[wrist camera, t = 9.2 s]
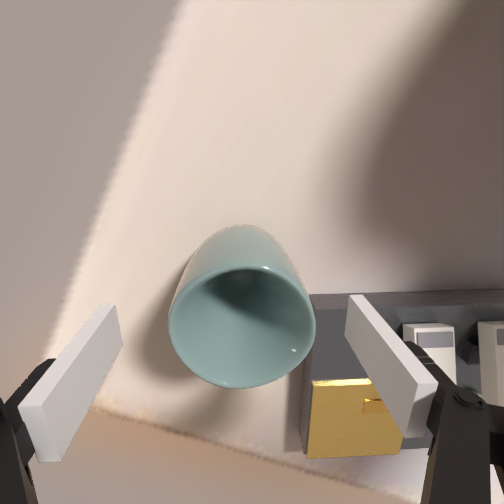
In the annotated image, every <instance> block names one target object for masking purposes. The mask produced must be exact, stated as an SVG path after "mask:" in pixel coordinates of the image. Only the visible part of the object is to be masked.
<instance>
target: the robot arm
mask: <svg viewBox="0 0 504 504" xmlns="http://www.w3.org/2000/svg"><path fill="white" fill-rule="evenodd" d="M344 336H345V337H346V339H347V341H348V342H349V344H350V346H351V348H352V349H353V351H354V353H355V354H356V356H357V358H358V360H359V361H360V363H361V365H362V366H363V368H364V370H365V371H366V373H367V375H368V377H369V378H370V380H371V382H372V383H373V385H374V387H375V389H376V390H377V392H378V394H379V395H380V397H381V399H382V400H383V402H384V404H385V406H386V407H387V409H388V411H389V412H390V414H391V416H392V418H393V419H394V421H395V423H396V424H397V426H398V428H399V430H400V431H401V433H402V435H403V436H404V438H418V437H424V433H425V429H426V426H427V427H428V429H429V430H430V431H431V433H432V434H433V437H432V441H431V444H430V447H429V451H428V454H427V455H428V456H429V458H428V463H427V469H426V475H425V480H424V486H423V492H422V498H421V503H420V504H491V491H490V464H493V465H494V467H495V470H496V473H497V476H498V479H499V482H500V485H501V488H502V491H503V494H504V407H502V406H497V405H492V404H487V403H486V402H485V401H484V400H483V399H482V398H481V397H480V396H478V395H477V394H476V393H474V392H472V391H470V390H468V389H464V388H461V387H458V386H457V385H456V384H455V383H454V382H453V381H452V380H451V379H450V378H449V377H448V376H447V375H446V374H445V372H444V371H443V370H442V369H441V368H440V367H439V366H438V365H437V364H435V362H434V361H433V360H432V358H431V357H429V355H428V354H427V353H426V352H425V351H424V350H423V349H422V348H421V347H420V346H418V345H417V344H415V343H413V342H412V341H402V340H401V339H400V338H399V337H398V335H397V334H396V333H395V332H394V331H393V330H392V328H391V327H390V326H389V325H388V324H387V323H386V321H385V320H384V319H383V318H382V317H381V316H380V315H379V313H378V312H377V311H376V310H375V309H374V308H373V306H372V305H371V304H370V303H369V302H368V301H367V299H366V298H365V297H364V296H363V295H349V301H348V309H347V317H346V325H345V333H344ZM122 346H123V342H122V337H121V332H120V327H119V322H118V317H117V311H116V306H115V304H101V305H100V306H99V307H98V308H97V309H96V311H95V312H94V313H93V314H92V316H91V317H90V318H89V319H88V321H87V322H86V323H85V324H84V325H83V327H82V328H81V329H80V330H79V332H78V333H77V334H76V335H75V337H74V338H73V339H72V340H71V341H70V343H69V344H68V345H67V346H66V348H65V349H64V350H63V351H62V353H61V354H60V355H59V356H58V357H57V358H56V359H47V360H46V361H45V362H43V363H42V364H40V365H39V366H37V367H36V368H35V369H34V370H33V372H32V373H31V374H30V375H29V376H28V379H26V380H25V381H24V382H23V383H22V384H21V387H19V388H18V389H17V390H16V391H15V392H14V393H13V395H12V396H11V397H10V398H9V399H8V400H7V401H6V403H5V404H4V403H3V401H2V399H1V398H0V504H38V501H37V496H36V492H35V488H34V484H33V480H32V476H31V472H30V468H29V466H28V462H29V460H30V459H31V457H32V456H33V454H34V453H35V454H36V457H37V459H38V462H39V463H49V462H61V460H62V458H63V456H64V454H65V453H66V450H67V449H68V447H69V445H70V443H71V441H72V440H73V438H74V436H75V433H76V432H77V430H78V428H79V426H80V424H81V423H82V421H83V419H84V417H85V415H86V413H87V411H88V410H89V408H90V406H91V404H92V402H93V400H94V399H95V397H96V395H97V393H98V391H99V389H100V387H101V385H102V384H103V382H104V380H105V378H106V376H107V374H108V372H109V371H110V369H111V367H112V365H113V363H114V361H115V359H116V358H117V356H118V354H119V352H120V350H121V348H122Z"/></svg>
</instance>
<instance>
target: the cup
mask: <svg viewBox="0 0 504 504" xmlns="http://www.w3.org/2000/svg"><path fill="white" fill-rule="evenodd" d="M168 333H169V337H170V342H171V344H172V346H173V348H174V350H175V352H176V354H177V355H178V356H179V358H180V359H181V361H182V362H183V363H184V364H185V365H186V366H187V367H188V368H189V369H190V370H191V371H192V372H193V373H194V374H196V375H197V376H199V377H200V378H201V379H203V380H205V381H207V382H209V383H211V384H214V385H216V386H220V387H224V388H231V389H245V388H253V387H257V386H261V385H265V384H267V383H270V382H272V381H275V380H277V379H279V378H281V377H282V376H284V375H286V374H288V373H289V372H290V371H292V370H293V369H294V368H295V367H297V366H298V365H299V364H300V363H301V362H302V361H303V359H304V358H305V357H306V356H307V354H308V353H309V351H310V349H311V347H312V345H313V343H314V339H315V335H316V318H315V314H314V310H313V306H312V302H311V300H310V297H309V295H308V293H307V291H306V288H305V286H304V284H303V282H302V280H301V278H300V276H299V273H298V271H297V269H296V267H295V265H294V263H293V261H292V260H291V258H290V256H289V255H288V253H287V252H286V251H285V249H284V248H283V247H282V245H281V244H280V243H279V242H278V241H277V240H276V239H275V238H274V237H273V236H272V235H271V234H269V233H268V232H266V231H264V230H263V229H261V228H258V227H255V226H253V225H244V224H243V225H234V226H230V227H227V228H224V229H222V230H220V231H218V232H216V233H214V234H213V235H212V236H210V237H209V238H207V239H206V240H205V241H204V242H203V243H202V244H201V245H200V246H199V247H198V249H197V250H196V251H195V253H194V254H193V256H192V258H191V259H190V261H189V262H188V264H187V266H186V268H185V270H184V272H183V275H182V277H181V279H180V282H179V284H178V287H177V289H176V292H175V294H174V297H173V300H172V303H171V306H170V309H169V313H168Z"/></svg>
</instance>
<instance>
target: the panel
mask: <svg viewBox="0 0 504 504" xmlns="http://www.w3.org/2000/svg"><path fill="white" fill-rule="evenodd" d="M349 295H363V296H364V297H365V298H366V299H367V301H368V302H369V303H370V304H371V305H372V306H373V308H374V309H375V310H376V311H377V312H378V313H379V315H380V316H381V317H382V318H383V319H384V320H385V321H386V323H387V324H388V325H389V326H390V327H391V328H392V330H393V331H394V332H395V333H396V334H397V335H398V337H399V338H400V339H401V340H402V341H403V324H423V323H442V324H445V325H448V326H452V327H454V340H455V361H456V383H457V386H458V387H461V388H464V389H468V390H470V391H472V392H474V393H476V394H477V395H478V396H480V397H481V398H482V389H481V372H480V355H479V338H478V322H484V321H504V289H490V290H454V291H418V292H383V293H347V294H312V295H309V297H310V300H311V302H312V306H313V310H314V314H315V318H316V335H315V339H314V343H313V345H312V347H311V349H310V351H309V353H308V354H307V356H306V357H305V358H304V372H303V385H302V399H301V413H300V426H299V433H300V438H301V443H302V447H303V452H304V454H306V457H307V459H313V458H332V457H351V456H370V455H389V454H399V452H400V449H416V448H429V447H430V444H431V441H432V437H433V434H432V433H431V431H430V430H429V429H428V427H427V426H426V429H425V433H424V437H418V438H404V436H403V435H402V433H401V431H400V430H399V428H398V426H397V424H396V423H395V421H394V419H393V418H392V416H391V414H390V412H389V411H388V409H387V407H386V406H385V404H384V402H383V400H382V399H381V397H380V395H379V394H378V392H377V390H376V389H375V387H374V385H373V383H372V382H371V380H370V378H369V377H368V375H367V373H366V371H365V370H364V368H363V366H362V365H361V363H360V361H359V360H358V358H357V356H356V354H355V353H354V351H353V349H352V348H351V346H350V344H349V342H348V341H347V339H346V337H345V336H344V333H345V325H346V317H347V309H348V301H349Z"/></svg>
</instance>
